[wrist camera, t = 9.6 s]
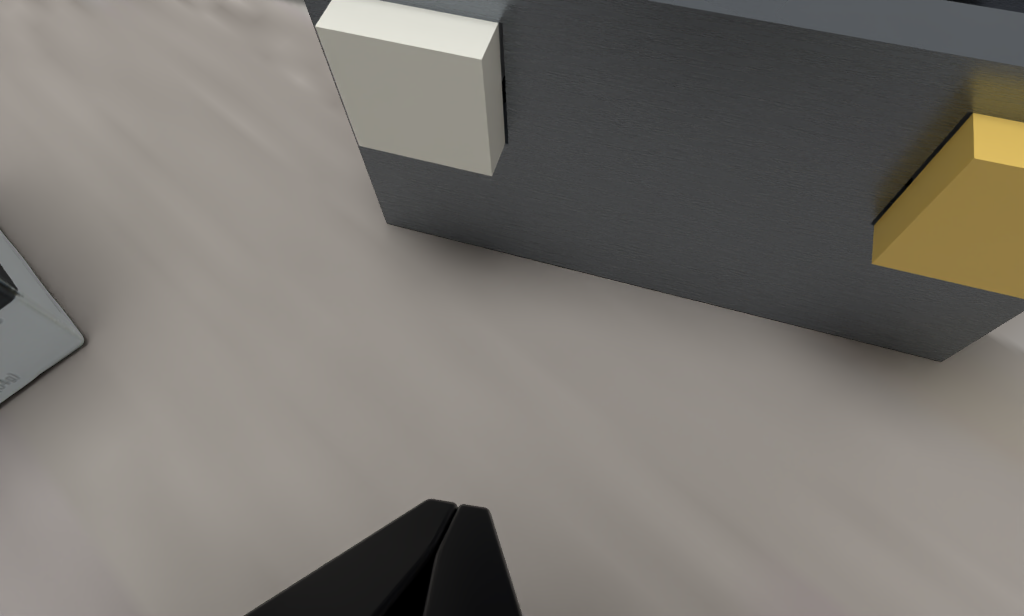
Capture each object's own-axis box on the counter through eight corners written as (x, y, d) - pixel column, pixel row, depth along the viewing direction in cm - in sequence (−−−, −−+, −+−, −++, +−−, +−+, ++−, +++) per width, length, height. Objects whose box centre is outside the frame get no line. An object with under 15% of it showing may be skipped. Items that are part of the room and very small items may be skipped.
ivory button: (492, 176, 17) (481, 59, 13) (358, 145, 18) (315, 26, 14) (538, 60, 19) (539, -69, 15) (416, 36, 20) (390, -93, 16)
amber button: (1045, 303, 15) (1209, 205, 11) (871, 263, 15) (974, 158, 12) (1034, 158, 17) (1171, 34, 13) (880, 128, 17) (970, 1, 14)
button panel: (941, 361, 21) (1332, 120, 11) (386, 222, 24) (280, -65, 14) (942, 257, 22) (1277, -34, 12) (425, 141, 25) (356, -168, 15)
